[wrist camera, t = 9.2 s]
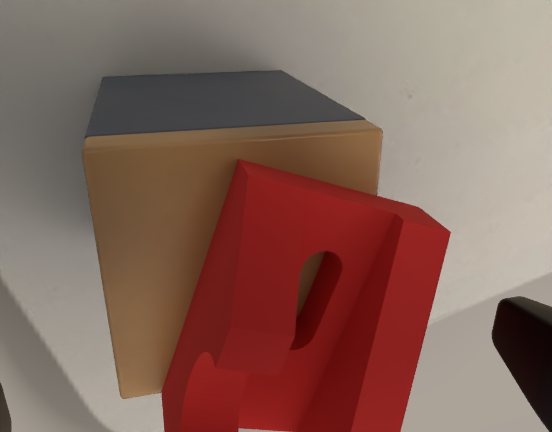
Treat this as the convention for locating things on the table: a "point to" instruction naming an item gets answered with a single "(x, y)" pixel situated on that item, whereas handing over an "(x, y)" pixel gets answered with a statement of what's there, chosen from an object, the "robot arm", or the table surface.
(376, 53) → the table surface
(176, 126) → the blue box
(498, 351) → the robot arm
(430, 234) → the bracket
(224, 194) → the board
